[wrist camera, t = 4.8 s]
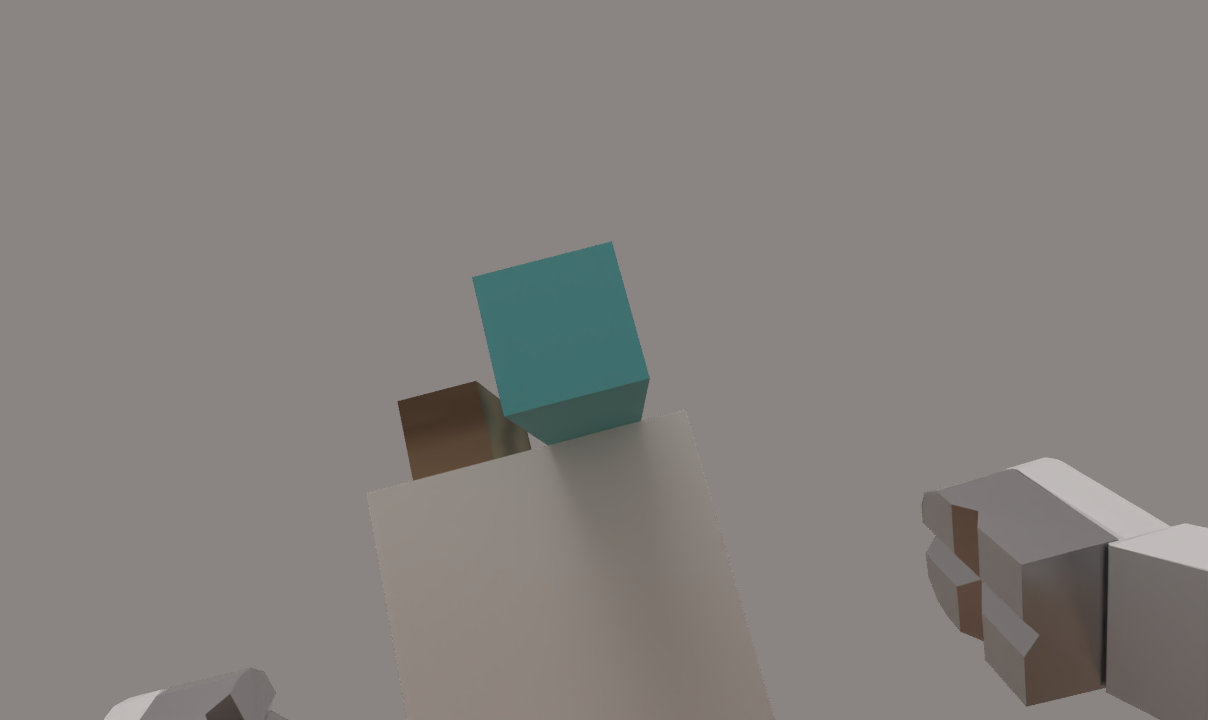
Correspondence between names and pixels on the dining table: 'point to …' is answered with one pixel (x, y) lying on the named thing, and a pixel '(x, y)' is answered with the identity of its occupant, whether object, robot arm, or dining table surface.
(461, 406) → the walnut rail
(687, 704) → the pedestal
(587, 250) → the teal bar
